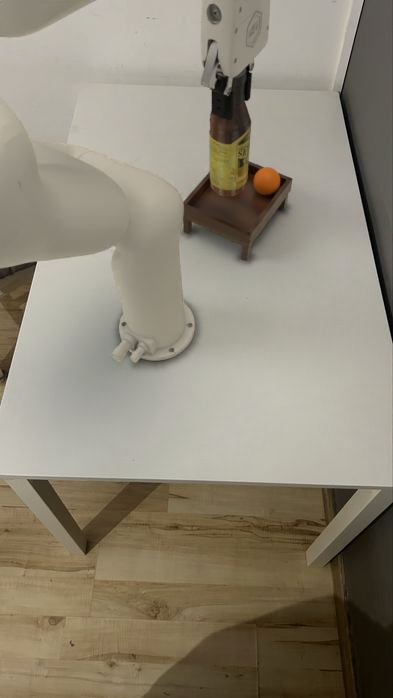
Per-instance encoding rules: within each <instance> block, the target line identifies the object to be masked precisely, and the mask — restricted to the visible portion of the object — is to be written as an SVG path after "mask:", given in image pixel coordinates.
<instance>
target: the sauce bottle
mask: <svg viewBox="0 0 393 698" xmlns="http://www.w3.org/2000/svg"><path fill="white" fill-rule="evenodd" d="M225 76H226V75H224V74H221V73H218V79H219V80H222V81H223V82H224V83H225ZM245 81H246V68H245V69H244V70H243V71H242V72H241V73H239V74H238V75H237V76H235V77H233V80H232V88H231V91H232V92H234V102H233V118H232V119H231V120H227V119H224V118H221V117H219V116H216V115H213V114H212V110H210V114H209V133H208V135H209V136H208V137H209V138H208V140H209V141H208V142H209V143H208V144H209V147H208V149H209V172H210V180H211V187H212V189H213V190H214V192H215V193H216V194H218V195H220V196H223V197H234V196H236V195H239V194H240V193H241V192H242V191H243V190H244V189H245V186H246V181H247V178H248V163H249V161H250V148H251V133H252V119H251V116H250V113H249V110H248V106H247V103H246V101H245V100H244V98H245V96H244V88H245V87H244V86H245Z"/></svg>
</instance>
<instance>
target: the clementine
mask: <svg viewBox="0 0 393 698" xmlns="http://www.w3.org/2000/svg"><path fill="white" fill-rule="evenodd" d="M278 173H279V172H278V171H277V170H276V169H274V168H273V167H267V166H266V167H265V168H262V169H260V170H259V171H258V172H257V173H256V174H255V176H254V180H253V184H254V187H255V189H256V191H257V192H258V193H260V194H261V195H271V194H273V193H275V192H276V191H277V189H278V188H279V186H280V176H279V174H278Z"/></svg>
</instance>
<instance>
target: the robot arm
mask: <svg viewBox="0 0 393 698" xmlns="http://www.w3.org/2000/svg"><path fill="white" fill-rule="evenodd" d="M96 1H97V0H0V38H8V39H9V38H11V39H12V38H22V37H26V36H29V35H30V36H31V35H33V34H35V33H38V32H40V31H42V30H43V29H46V28H48V27H49V26H52V25H53V24H56V23H57V22H59V21H61V20H62V19H64V18H66V17H68V16H70V15H72V14H74V13H75V12H77V11H79V10H81V9H83V8H85V7H86V6H89V5H90V4H92V3H94V2H96ZM201 1H202V2H201V15H200V17H201V18H200V59H201V64H202V67H203V71H202V75H201V79H200V85H201V86H203V87H206V88H209V90H210V91H211V111H212V114H213V115H216V116H219V117H221V118H224V119H227V120H231V119H232V118H233V102H234V92H232V91H231V88H232V80H233V77H235V76H237V75H238V74H239V73H241V72H242V71H243V70H244V69H245V68H246V81H245V86H244V87H245V88H244V96H245V98H244V100H245V102H248V101H249V100H250V99H251V96H252V95H251V94H252V93H251V92H252V81H253V78H252V77H253V72H252V71H253V70H254V68H255V58H256V57H258V56H259V54H260V53H261V52H262V51H263V50H264V49H265V47H266V45H267V43H268V42H269V41H268V40H269V30H270V16H271V15H270V14H271V0H201ZM218 73H221V74H224V75H226V76H225V83H224V82H223V81H222V80H219V79H218ZM183 202H184V199H183V197H182V194H181V193H180V191H179V190H178V188H177V187H175V186H174V185H173V184H172V183H171V182H169V181H168V180H166V179H165V178H163V177H161V176H159V175H158V174H155V173H153V172H150V171H148V170H146V169H143V168H140V167H137V166H135V165H133V164H130V163H128V162H126V161H125V162H124V161H122V160H118V159H116V158H113V157H111V156H108V155H105V154H103V153H100V152H98V151H95V150H93V149H89V148H87V147H83V146H80V145H75V144H70V143H64V142H58V141H53V140H48V139H41V138H36V137H32V136H31V137H30V136H29V134H28V132H27V130H26V128H25V126H24V125H23V122H22V121H21V119H20V118H19V117H18V116H17V114H16V113H15V111H14V110H13V109H12V108H11V107H10V106H9V105H8V103H7V102H6V101H4V99H2V98H1V97H0V269H5V268H6V269H7V268H11V267H17V266H19V265H24V264H28V263H36V262H47V261H49V262H50V261H56V260H61V259H68V258H69V259H70V258H75V257H84V256H85V257H86V256H92V255H96V254H99V253H101V252H105V251H107V250H109V249H111V248H113V247H114V248H115V249H114V250H113V252H112V255H111V259H110V267H111V274H112V277H113V281H114V283H115V288H116V289H117V290H116V291H117V294H118V299H119V302H120V305H121V309H122V312H123V313H122V315H121V317H120V319H119V324H118V332H119V337H120V339H121V342H120V343H119V345H117V346H116V348H115V349H114V350H113V351H112V353H111V354H110V357H111V358H112V359H113V360H114V361H116V362H118V363H122V361H123V360H124V358H125V357H126V356H127V355H128V352H129V353H130V354H131V355H130V356H129V359H130V360H131V361H132V362H133V363H134V364H135V363H136V364H137V363H138V362H139V360H140V359H142V360H146V361H152V362H153V361H154V362H155V361H165V360H169V359H171V358H174V357H176V356H178V355H179V354H181V353H182V352H183V351H185V350H186V349H187V348H188V346H189V345H190V344H191V342H192V340H193V338H194V336H195V331H196V323H195V322H196V321H195V316H194V314H193V312H192V310H191V309H190V307H189V306H188V305H187V304H186V303H185V302H184V301H185V300H184V291H183V290H184V289H183V280H182V267H181V258H180V243H181V233H182V229H183V228H182V227H183V215H184V203H183Z"/></svg>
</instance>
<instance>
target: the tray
mask: <svg viewBox="0 0 393 698" xmlns="http://www.w3.org/2000/svg"><path fill="white" fill-rule="evenodd" d="M262 168H265V167H264V166H262V165H260V164H257V163H255V162H252V161H250V160H249V163H248V178H247V181H246V186H245V189H244V190H243V191H242V192H241V193H240V194H239V195H236V196H234V197H223V196H220V195H218V194H216V193H215V192H214V190H213V189H212V187H211V180H210V171H209V172H207V174H206V175H205V176H204V177H203V179H201V181H199V183H198V184H197V185H196V187H194V189H193V190H192V191H191V192H190V193H189V195H187V197H186V198H185V199H183V203H184V215H183V222H182V227H183V233H184V234H186V235H191V233H192V232H193V224H195V225H198V226H199V227H202V228H204V229H206V230H208V231H211V232H213V233H215V234H216V235H217V234H218V235H220V236H222V237H224V238H226V239H228V240H231V241H233V242H235V243H238V244H239V245H241V256H240V259H241V260H243V261H246V262H247V261H249V259H250V258H251V249H252V244H253V243H254V241H255V240H256V239H257V237H258V236H259V234H260V233H261V232H262V230H263V229H264V227H265V226H266V225H267V223H269V221H270V220H271V218H272V217H273V215H274V214H276V211H277V210H280V211H282V212H284V211H285V210H286V209H287V205H288V200H289V194H290V192H291V190H292V185H293V179H294V178H292V177H290V176H287V175H285V174H283V173H280V172H278V174H279V176H280V186H279V188H278V189H277V191H276V192H275V193H273V194H271V195H261V194H260V193H258V192H257V191H256V189H255V187H254V184H253V180H254V176H255V174H256V173H257V172H258V171H259V170H260V169H262Z"/></svg>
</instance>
